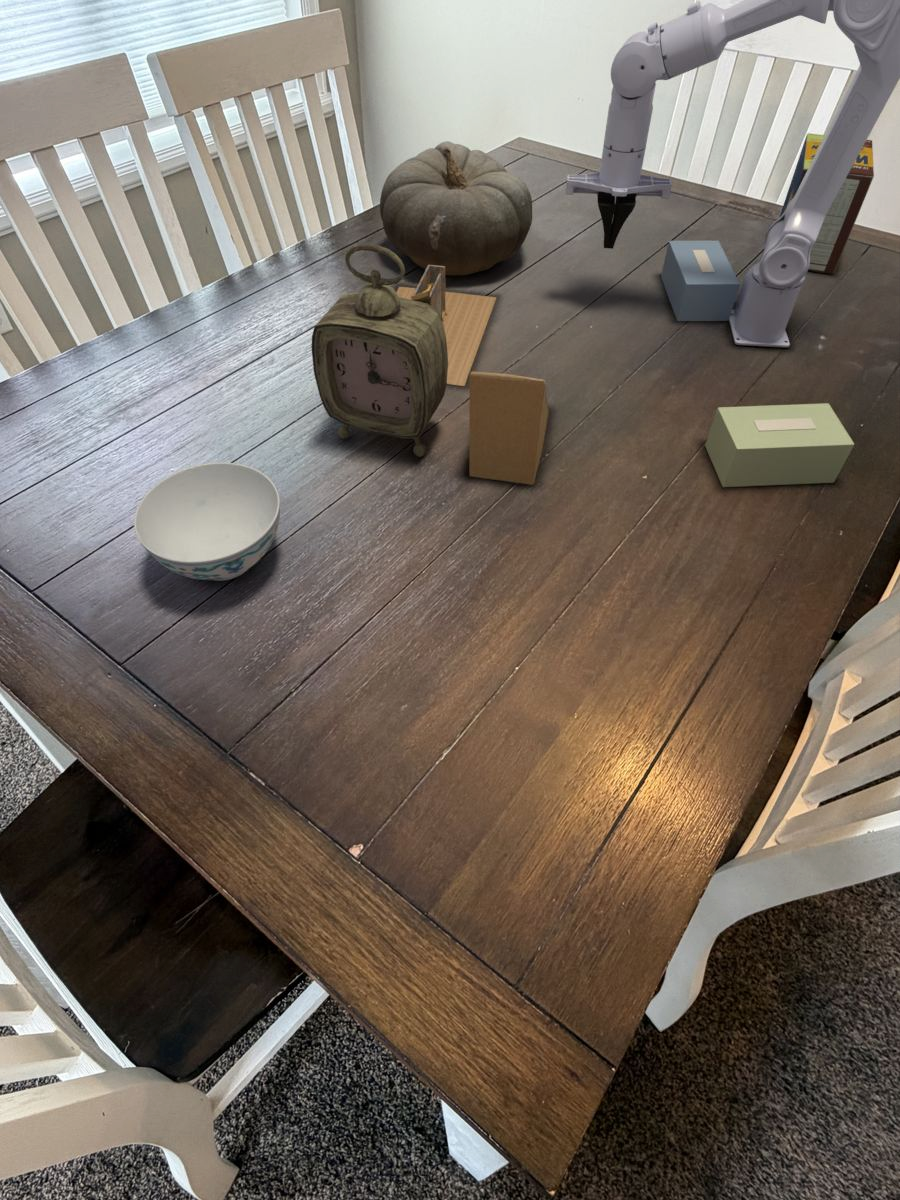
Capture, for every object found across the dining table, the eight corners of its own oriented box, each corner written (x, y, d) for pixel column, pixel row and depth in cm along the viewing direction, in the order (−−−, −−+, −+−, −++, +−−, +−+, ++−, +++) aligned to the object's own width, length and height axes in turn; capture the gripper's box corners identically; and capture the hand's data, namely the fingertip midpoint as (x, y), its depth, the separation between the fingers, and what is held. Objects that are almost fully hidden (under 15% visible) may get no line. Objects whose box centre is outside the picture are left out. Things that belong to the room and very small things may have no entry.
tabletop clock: (325, 442, 95) (293, 251, 76) (354, 403, 101) (331, 215, 81) (428, 467, 92) (422, 274, 73) (453, 425, 98) (453, 235, 78)
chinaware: (228, 631, 76) (209, 583, 70) (128, 574, 81) (102, 525, 75) (318, 543, 84) (308, 493, 78) (222, 496, 89) (205, 445, 83)
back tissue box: (660, 276, 123) (669, 239, 118) (708, 276, 123) (718, 239, 118) (677, 321, 114) (686, 283, 109) (728, 321, 114) (740, 283, 109)
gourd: (441, 193, 137) (447, 93, 122) (551, 251, 131) (572, 154, 116) (355, 258, 127) (349, 157, 112) (470, 324, 121) (481, 228, 106)
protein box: (835, 235, 132) (873, 139, 120) (833, 275, 123) (875, 176, 110) (774, 227, 134) (806, 131, 122) (769, 266, 125) (803, 167, 113)
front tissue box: (704, 445, 95) (717, 406, 90) (810, 441, 95) (829, 401, 90) (722, 487, 90) (737, 447, 85) (834, 482, 90) (855, 443, 85)
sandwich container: (551, 411, 100) (563, 307, 88) (535, 485, 90) (547, 381, 78) (489, 403, 101) (493, 300, 89) (467, 476, 91) (469, 371, 80)
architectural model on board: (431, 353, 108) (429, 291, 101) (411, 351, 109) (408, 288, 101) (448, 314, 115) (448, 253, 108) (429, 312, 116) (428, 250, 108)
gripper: (571, 154, 97) (559, 255, 108) (681, 158, 96) (659, 260, 107) (571, 134, 102) (560, 233, 112) (677, 138, 101) (655, 238, 111)
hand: (608, 245), depth 110 cm, fingers closed
